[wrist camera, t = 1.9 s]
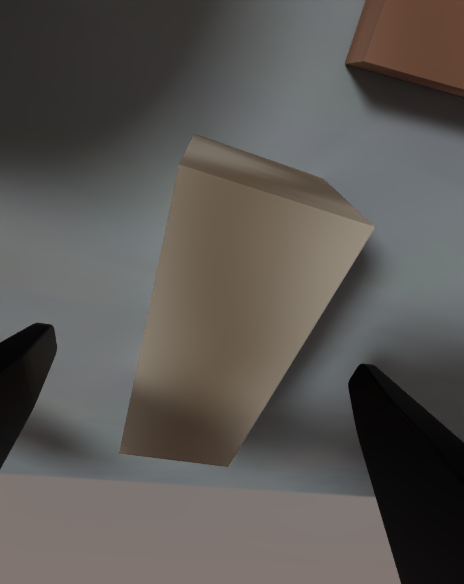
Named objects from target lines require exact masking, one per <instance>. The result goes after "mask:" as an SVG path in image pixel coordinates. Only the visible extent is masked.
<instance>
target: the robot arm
mask: <svg viewBox="0 0 464 584" xmlns="http://www.w3.org/2000/svg"><path fill="white" fill-rule="evenodd" d="M56 351H57V343H56V337H55V330H54V327H53V326H52V325H50V324H44V323H35V324H32V325H30V326H29V327H27V328H25V329H23V330H22V331H20V332H18V333H16V334H14V335H13V336H11V337H9V338H7V339H5V340H4V341H2V342H0V469H1V467H2V465H3V463H4V461H5V460H6V458H7V456H8V454H9V452H10V450H11V449H12V447H13V445H14V443H15V441H16V439H17V438H18V436H19V434H20V432H21V430H22V429H23V427H24V425H25V423H26V421H27V419H28V418H29V416H30V414H31V412H32V410H33V408H34V406H35V404H36V401H37V399H38V397H39V394H40V392H41V389H42V387H43V384H44V382H45V380H46V377H47V375H48V372H49V370H50V367H51V365H52V362H53V360H54V357H55V355H56ZM348 388H349V394H350V399H351V404H352V410H353V415H354V420H355V425H356V430H357V435H358V438H359V442H360V446H361V449H362V452H363V456H364V459H365V463H366V466H367V469H368V473H369V476H370V479H371V483H372V486H373V490H374V493H375V496H376V500H377V503H378V506H379V510H380V513H381V517H382V520H383V524H384V527H385V530H386V533H387V537H388V541H389V544H390V547H391V551H392V554H393V558H394V561H395V564H396V568H397V571H398V574H399V578H400V581H401V584H464V442H462V441H461V440H460V439H459V438H458V437H457V436H455V435H454V434H453V433H452V432H451V431H450V430H449V429H447V428H446V427H445V426H444V425H443V424H442V423H441V422H439V421H438V420H437V419H436V418H435V417H434V416H432V415H431V414H430V413H429V412H428V411H427V410H426V409H424V408H423V407H422V406H421V405H420V404H419V403H417V402H416V401H415V400H414V399H413V398H412V397H411V396H409V395H408V394H407V393H406V392H405V391H404V390H402V389H401V388H400V387H399V386H398V385H397V384H396V383H394V382H393V381H392V380H391V379H390V378H389V377H388V376H386V375H385V374H384V373H383V372H382V371H381V370H379V369H378V368H377V367H376V366H374V365H371V364H360V365H359V366H358V367H357V369H356V370H355V372H354V373H353V375H352V376H351V378H350V380H349V383H348Z"/></svg>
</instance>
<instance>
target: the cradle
mask: <svg viewBox="0 0 464 584" xmlns="http://www.w3.org/2000/svg"><path fill="white" fill-rule="evenodd" d="M345 64H347V65H350V66H354V67H358V68H361V69H365V70H368V71H372V72H376V73H379V74H383V75H386V76H390V77H394V78H397V79H401V80H404V81H408V82H411V83H415V84H419V85H422V86H426V87H429V88H433V89H437V90H440V91H444V92H447V93H451V94H455V95H458V96H462V97H464V0H366V2H365V5H364V8H363V11H362V14H361V17H360V20H359V23H358V26H357V29H356V32H355V35H354V38H353V41H352V44H351V47H350V50H349V53H348V56H347V59H346V62H345Z"/></svg>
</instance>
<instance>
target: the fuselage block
mask: <svg viewBox="0 0 464 584" xmlns="http://www.w3.org/2000/svg"><path fill="white" fill-rule="evenodd" d="M374 229H375V226H374V225H373V224H372V223H370V222H369V221H368V220H367V219H366V218H365V217H364V216H363V215H362V214H361V213H360V212H359V211H357V210H356V209H355V208H354V207H353V206H352V205H351V204H350V203H349V202H348V201H347V200H346V199H345V198H343V197H342V196H341V195H340V194H339V193H338V192H337V191H336V190H335V189H334V188H333V187H332V186H331V185H329V184H328V183H327V182H326V181H325V180H324V179H323V178H321V177H318V176H315V175H312V174H309V173H306V172H303V171H300V170H297V169H294V168H291V167H289V166H286V165H283V164H280V163H277V162H274V161H271V160H268V159H265V158H262V157H259V156H256V155H254V154H251V153H248V152H245V151H242V150H239V149H236V148H233V147H230V146H227V145H224V144H221V143H219V142H216V141H213V140H210V139H207V138H204V137H201V136H198V135H195V134H194V135H193V137H192V139H191V141H190V143H189V145H188V147H187V150H186V152H185V154H184V156H183V158H182V160H181V162H180V164H179V168H178V172H177V177H176V182H175V187H174V192H173V196H172V201H171V206H170V211H169V216H168V221H167V225H166V230H165V235H164V240H163V245H162V249H161V254H160V259H159V264H158V269H157V273H156V278H155V283H154V288H153V293H152V298H151V302H150V307H149V312H148V317H147V322H146V326H145V331H144V336H143V341H142V346H141V351H140V355H139V360H138V365H137V370H136V375H135V379H134V384H133V389H132V394H131V399H130V404H129V408H128V413H127V418H126V423H125V428H124V432H123V437H122V442H121V447H120V452H119V453H120V454H128V455H136V456H144V457H152V458H160V459H169V460H177V461H185V462H193V463H201V464H209V465H218V466H226V467H228V466H229V464H230V463H231V461H232V459H233V458H234V456H235V455H236V453H237V451H238V450H239V448H240V446H241V445H242V443H243V442H244V440H245V438H246V437H247V435H248V433H249V432H250V430H251V429H252V427H253V425H254V424H255V422H256V420H257V419H258V417H259V416H260V414H261V412H262V411H263V409H264V407H265V406H266V404H267V403H268V401H269V399H270V398H271V396H272V394H273V393H274V391H275V390H276V388H277V386H278V385H279V383H280V381H281V380H282V378H283V377H284V375H285V373H286V372H287V370H288V368H289V367H290V365H291V363H292V362H293V360H294V359H295V357H296V355H297V354H298V352H299V350H300V349H301V347H302V346H303V344H304V342H305V341H306V339H307V337H308V336H309V334H310V333H311V331H312V329H313V328H314V326H315V324H316V323H317V321H318V320H319V318H320V316H321V315H322V313H323V311H324V310H325V308H326V307H327V305H328V303H329V302H330V300H331V298H332V297H333V295H334V294H335V292H336V290H337V289H338V287H339V285H340V284H341V282H342V281H343V279H344V277H345V276H346V274H347V272H348V271H349V269H350V268H351V266H352V264H353V263H354V261H355V259H356V258H357V256H358V255H359V253H360V251H361V250H362V248H363V246H364V245H365V243H366V242H367V240H368V238H369V237H370V235H371V233H372V232H373V230H374Z"/></svg>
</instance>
